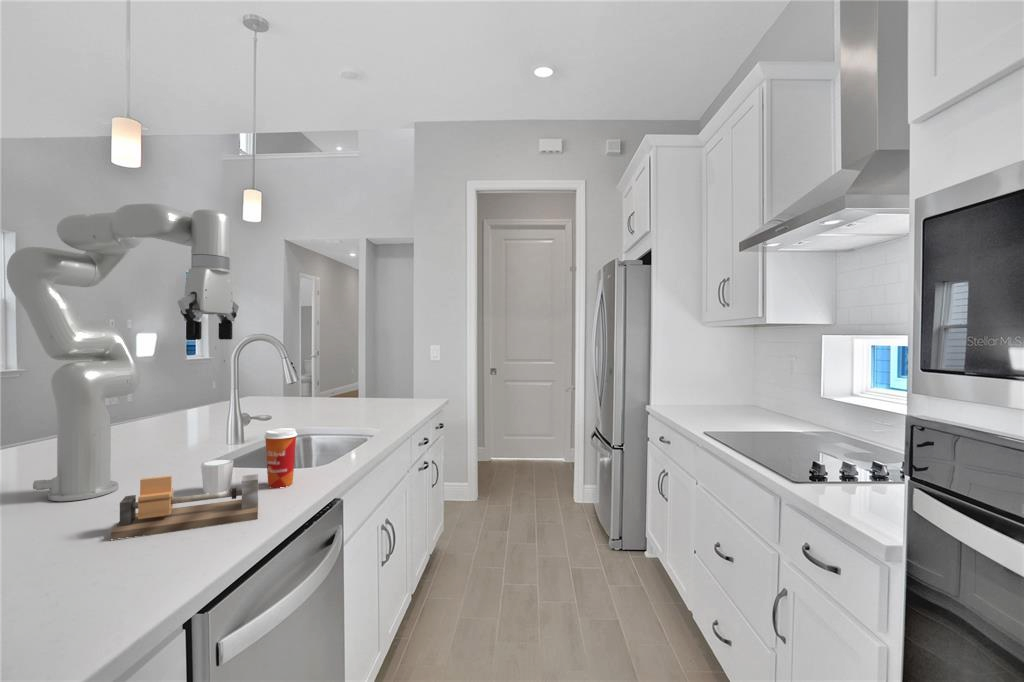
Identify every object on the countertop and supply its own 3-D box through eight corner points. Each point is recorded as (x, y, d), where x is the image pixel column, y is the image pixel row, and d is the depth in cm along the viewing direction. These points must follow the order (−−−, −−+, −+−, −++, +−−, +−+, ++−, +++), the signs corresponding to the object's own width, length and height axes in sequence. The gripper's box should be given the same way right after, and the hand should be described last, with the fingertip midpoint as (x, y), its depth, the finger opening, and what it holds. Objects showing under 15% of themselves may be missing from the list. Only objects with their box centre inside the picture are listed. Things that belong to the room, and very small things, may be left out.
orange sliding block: (138, 519, 92) (138, 482, 92) (143, 512, 96) (143, 476, 96) (169, 515, 95) (169, 478, 94) (173, 508, 98) (173, 473, 98)
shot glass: (218, 496, 113) (218, 466, 113) (193, 493, 114) (193, 464, 114) (240, 487, 120) (240, 459, 120) (216, 485, 121) (216, 457, 121)
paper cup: (256, 487, 120) (257, 431, 120) (281, 479, 127) (282, 426, 127) (279, 491, 117) (280, 434, 117) (304, 482, 124) (304, 429, 124)
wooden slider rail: (110, 540, 88) (110, 500, 88) (124, 521, 97) (124, 485, 97) (257, 518, 99) (257, 483, 99) (258, 503, 108) (258, 471, 108)
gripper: (222, 270, 119) (222, 339, 119) (164, 259, 102) (164, 339, 102) (250, 270, 118) (250, 339, 118) (196, 259, 101) (196, 339, 101)
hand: (210, 339), depth 110 cm, fingers open, 9 cm apart
